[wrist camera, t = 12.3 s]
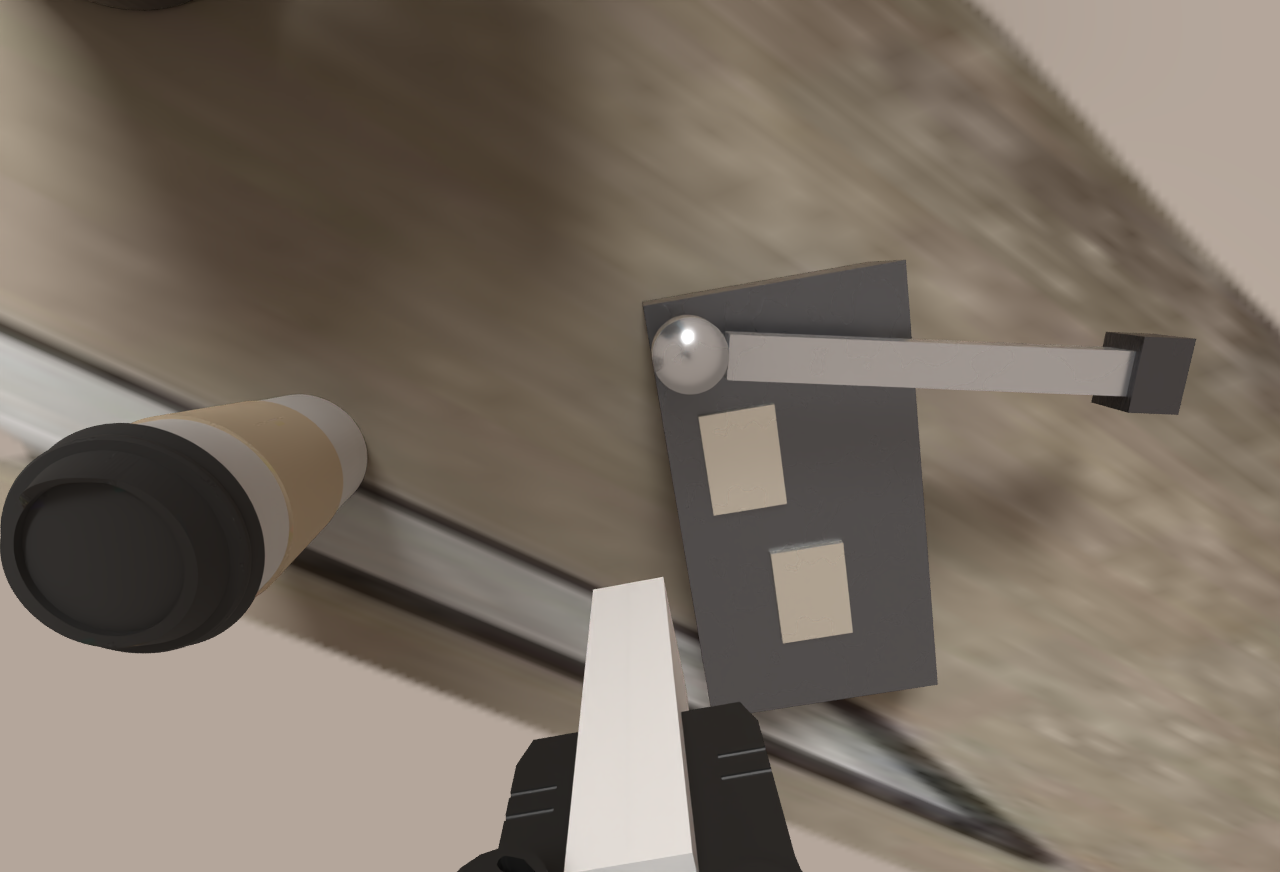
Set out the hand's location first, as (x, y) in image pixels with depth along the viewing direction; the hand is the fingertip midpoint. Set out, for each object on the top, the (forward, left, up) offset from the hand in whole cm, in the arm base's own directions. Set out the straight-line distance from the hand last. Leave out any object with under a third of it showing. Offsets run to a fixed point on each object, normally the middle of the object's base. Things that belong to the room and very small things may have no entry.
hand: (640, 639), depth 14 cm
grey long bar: (-2, +12, -15) cm, 19 cm away
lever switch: (+5, +7, -23) cm, 25 cm away
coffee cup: (-1, -19, -23) cm, 30 cm away
